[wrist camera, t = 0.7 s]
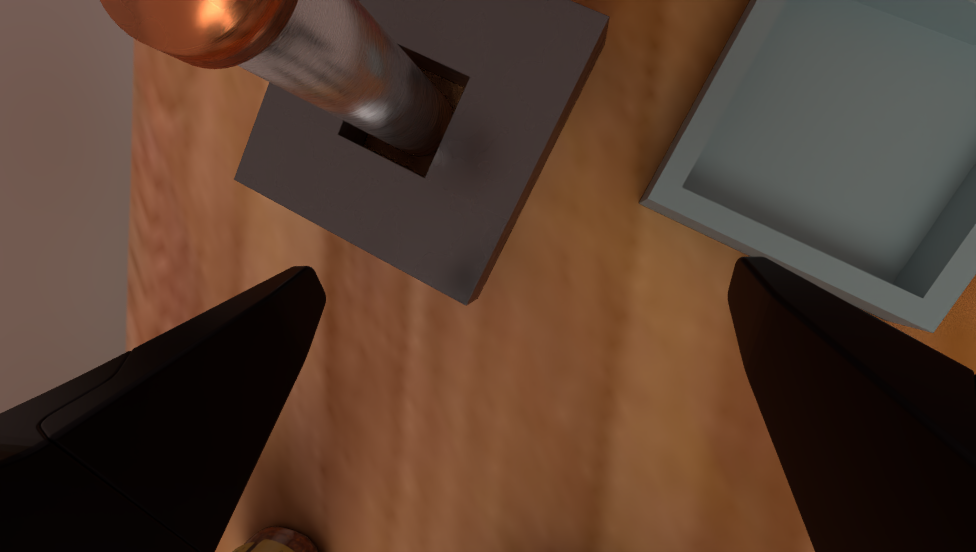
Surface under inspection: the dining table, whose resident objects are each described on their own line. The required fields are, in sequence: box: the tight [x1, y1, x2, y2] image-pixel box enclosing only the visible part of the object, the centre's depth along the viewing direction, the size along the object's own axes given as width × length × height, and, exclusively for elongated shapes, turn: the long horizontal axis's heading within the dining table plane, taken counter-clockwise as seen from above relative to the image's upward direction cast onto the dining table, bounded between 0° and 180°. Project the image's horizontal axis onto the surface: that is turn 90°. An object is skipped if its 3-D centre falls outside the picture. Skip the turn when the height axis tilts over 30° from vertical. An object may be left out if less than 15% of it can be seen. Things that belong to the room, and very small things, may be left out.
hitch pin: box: [100, 0, 453, 156], centre depth 15 cm, size 5×5×14 cm
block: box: [234, 0, 609, 305], centre depth 21 cm, size 14×14×2 cm
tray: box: [639, 0, 976, 333], centre depth 17 cm, size 12×12×2 cm
